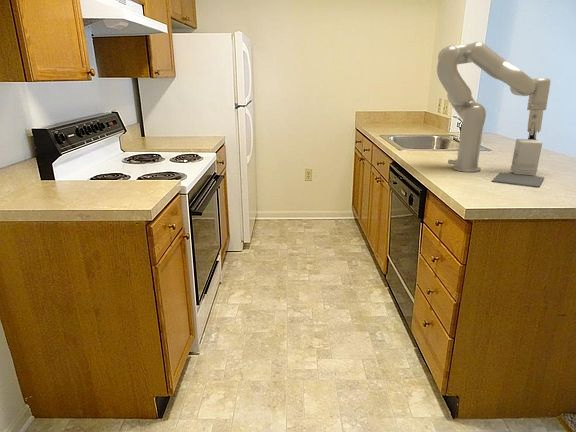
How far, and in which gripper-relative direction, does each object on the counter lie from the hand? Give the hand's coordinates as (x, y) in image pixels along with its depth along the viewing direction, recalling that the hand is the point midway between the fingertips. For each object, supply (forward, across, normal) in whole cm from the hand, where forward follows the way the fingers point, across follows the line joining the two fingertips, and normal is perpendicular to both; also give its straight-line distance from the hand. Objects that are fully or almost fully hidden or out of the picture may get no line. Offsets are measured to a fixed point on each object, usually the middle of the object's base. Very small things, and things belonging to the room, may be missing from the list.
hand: (530, 146), depth 194 cm
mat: (+12, -22, +1) cm, 25 cm away
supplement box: (+11, -7, +1) cm, 13 cm away
